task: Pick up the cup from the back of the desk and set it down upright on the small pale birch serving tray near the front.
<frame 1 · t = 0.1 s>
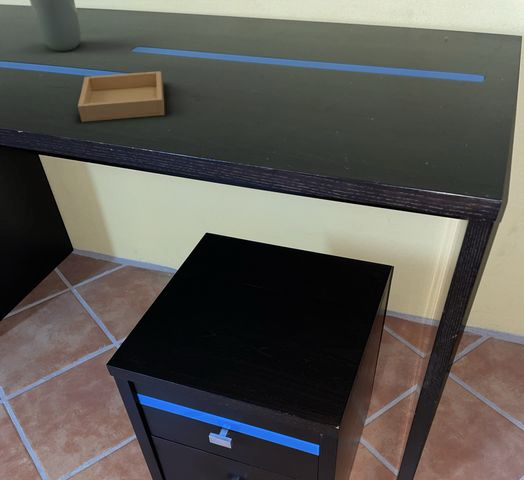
tray: (125, 104, 84), on the table
cup: (65, 49, 105), on the table
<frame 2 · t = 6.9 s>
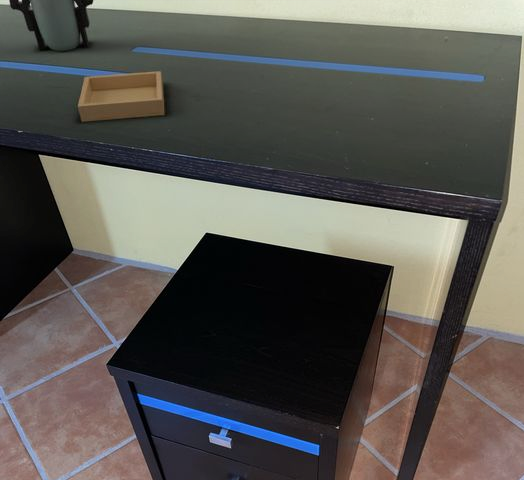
hand: (64, 47, 105), 0 cm above the table, tool pointing down, fingers closed on cup, 8 cm apart
cup: (65, 49, 105), on the table, touching gripper
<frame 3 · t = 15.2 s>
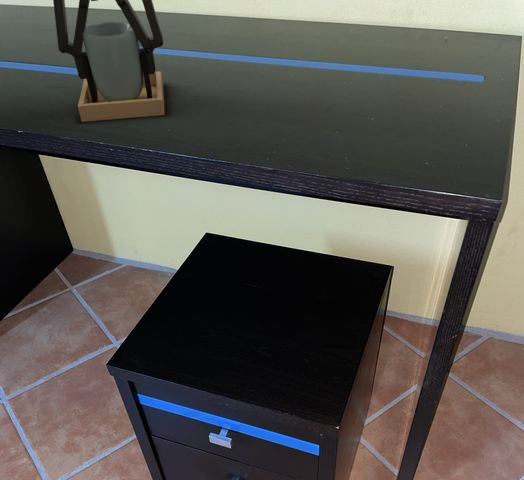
hand: (122, 97, 84), 1 cm above the table, tool pointing down, fingers closed on cup, 8 cm apart
cup: (123, 100, 84), point 1 cm above the table, touching gripper
when the fingers open (3 cm above the table, at t = 25.0 s): cup drops 2 cm, resting on tray.
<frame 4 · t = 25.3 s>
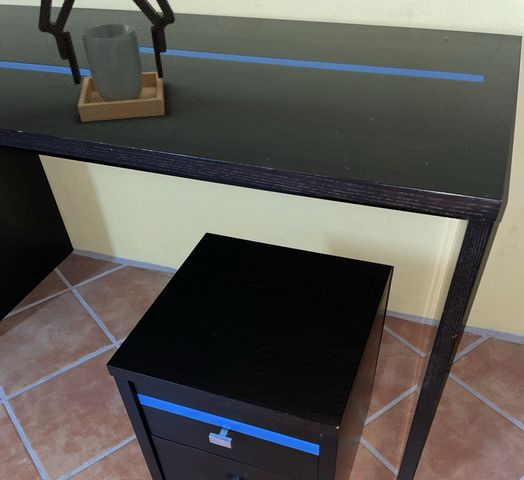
hand: (119, 78, 82), 4 cm above the table, tool pointing down, fingers open, 12 cm apart
cup: (123, 101, 84), resting on tray
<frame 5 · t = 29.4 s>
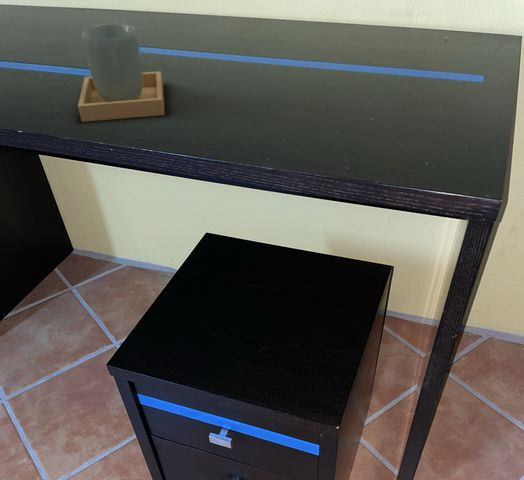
nothing on the table moved.
at the end: cup 0.2 cm off-centre in the tray, point 0.4 cm above the tray's base; cup tilted 0°; the gripper is holding nothing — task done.
